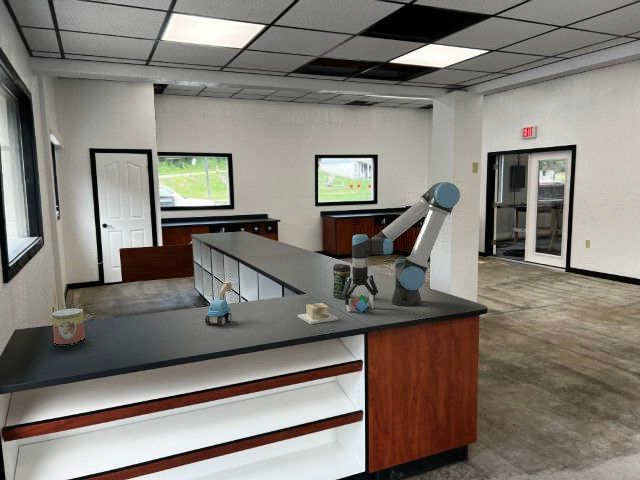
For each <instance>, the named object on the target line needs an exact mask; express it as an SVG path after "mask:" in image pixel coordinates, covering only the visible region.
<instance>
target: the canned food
mask: <svg viewBox="0 0 640 480" xmlns="http://www.w3.org/2000/svg"><path fill="white" fill-rule="evenodd" d="M51 317H52V319H51V321H52V331H53V344H54V343H56V344H68V343H74V342H78V341H80V340H83V339H84V338H85V339H86V335H85V334H86V333H85V321H84V319H85V318H84V309H82V308H75V307H73V308H64V309H59V310H56V311H53V312H52V313H51ZM56 344H55V345H56Z"/></svg>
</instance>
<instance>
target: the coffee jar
mask: <svg viewBox="0 0 640 480" xmlns="http://www.w3.org/2000/svg"><path fill="white" fill-rule="evenodd" d="M351 273H352V269H351V265H349V264H343V263H335V264H333V267H332V274H333V290H332V291H333V292H332V293H333V294H332V295H333V298H335V299H340V300H345V298H344V297H342V296H341V295H342V293H343V290H344V287H345V285H346V282H347V277H349V278H351ZM349 289H350V288H349ZM351 297H352V295H351V296H350V297H349V298H351Z"/></svg>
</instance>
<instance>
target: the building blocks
mask: <svg viewBox="0 0 640 480" xmlns="http://www.w3.org/2000/svg"><path fill="white" fill-rule="evenodd" d="M351 306H352V307H353V309H354V310H355V311H357V310H358V311H359V312H360V313H363V312H364V311H365V310H366V309H368V299H367V298H366V297H365V296H364V295H363V294H361V295H359V297H357V296H355V297H354V298H351Z"/></svg>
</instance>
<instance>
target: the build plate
mask: <svg viewBox="0 0 640 480" xmlns="http://www.w3.org/2000/svg"><path fill="white" fill-rule="evenodd" d="M297 318H299V319H301V320H303V321H304V322H306V323H308V324H309V325H315V324H320V323H326V322H327V323H328V322H333V321H339V317H338V316H336V315H333V314H331V313H330V312H329V317H328V318H320V319H311V318H310V317H308V316H307V315H306V313H301V314H297Z"/></svg>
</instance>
